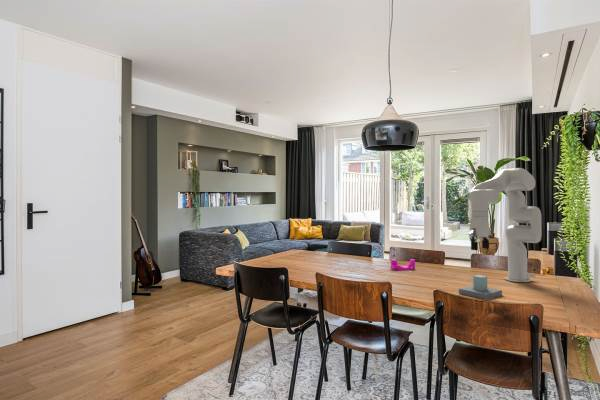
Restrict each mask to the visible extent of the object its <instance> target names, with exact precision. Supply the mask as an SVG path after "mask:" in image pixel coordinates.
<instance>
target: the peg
mask: <svg viewBox="0 0 600 400" xmlns="http://www.w3.org/2000/svg"><path fill="white" fill-rule="evenodd" d="M472 281H473V282H472V283H473V285H472V286H473V290H478V291H487V288H488V276H486V275H481V274H477V275H473V280H472Z"/></svg>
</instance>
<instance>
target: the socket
mask: <svg viewBox="0 0 600 400" xmlns="http://www.w3.org/2000/svg"><path fill="white" fill-rule="evenodd" d="M458 294H459V295H463V296H469V297H472V298H477V299H481V300H485V299H487V300H492V299H494V298H498V297H501V296H503V290H501V289H497V288H493V287H487V291H478V290H473V285H469V286H465V287H464V286H463V287H460V288H458Z"/></svg>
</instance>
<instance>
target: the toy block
mask: <svg viewBox="0 0 600 400" xmlns="http://www.w3.org/2000/svg"><path fill="white" fill-rule="evenodd" d="M390 269H391V270H393V271H410V270H416V260H415V259H412V258H410V260H409V262H408V263H407V264H406V265H400V264H399V263H398V261H397V260H396V259H395V258H394V259H393V258H391V259H390Z"/></svg>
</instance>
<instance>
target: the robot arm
mask: <svg viewBox="0 0 600 400" xmlns="http://www.w3.org/2000/svg"><path fill="white" fill-rule="evenodd" d="M534 188H536V179H535V177H534V175H532V174H531V173H530V172H529V171H528V170H527V169H524V168H523V167H516V168H514V167H513V168H512V167H511V168H504V169H501V170H499V171H498V172H497V173H496V174H495V175H494V176H493V177H492V178H491V179H488V180H485V181H483V182H480V183H478V184H476V185H475V186H474V187H473V188H471V190H470V191H469V193H468V197H467V198H468V200H469V202H470V203H471V204H470V205H471V208H470V209H471V213H470V214H471V215H470V216H471V217H470V222H469V232H468V236H469V239H470V240H469V241H470V250H471V251H478V250H479V242H478V240H479V239H482V241H481V243H482V244H481V245H482V246H481V247H482V249H485V250H489V249H490V238H491V233H492V232H491V230H490V223H489V205H495V204H497V203H499V201H500V198H501V195H500V193H502V192H504V193H505V194H506V196H507V200H508V219H509V221H510V222H511V223H516V224H513V225H509V226H507V227H506V229H505V237H506V242H507V244H506V245H507V276H505V277H504V280H506V281H509V282H515V283H529V282H531V279H530V278H536V274H535V273H530V272H528V250H527V248H526V245H524V243H527V244H528V243H531V244H538V243H540V242H541V241H542V230H543V229H542V212H541V210H540V207H538V206H534V205H532V206H531V205H530V206H529V205H526V195H524V193H523V192H524V191H525V192H527V191H529V192H530V191H533V189H534ZM522 224H523V225H522ZM525 224H529V225H525Z"/></svg>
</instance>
